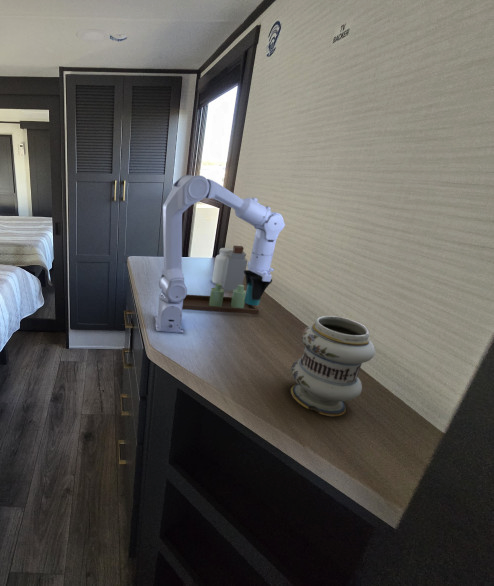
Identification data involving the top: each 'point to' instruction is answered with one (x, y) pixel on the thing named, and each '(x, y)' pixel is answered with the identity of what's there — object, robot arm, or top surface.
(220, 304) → the green bottle middle
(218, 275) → the pill bottle
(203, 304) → the tray
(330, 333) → the apothecary jar
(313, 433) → the top surface
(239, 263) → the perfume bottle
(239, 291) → the green bottle far
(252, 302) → the teal bottle
